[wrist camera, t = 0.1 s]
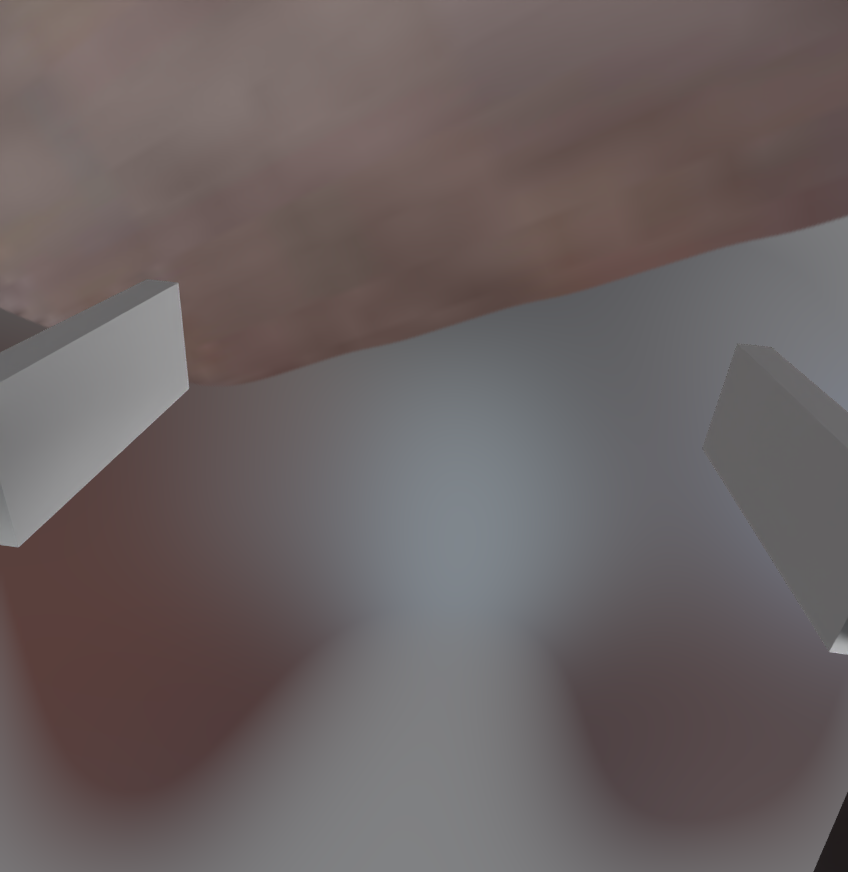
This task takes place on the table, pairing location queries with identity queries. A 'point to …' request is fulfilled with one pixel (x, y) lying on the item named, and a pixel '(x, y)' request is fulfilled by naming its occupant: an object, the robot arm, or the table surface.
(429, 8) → the table surface
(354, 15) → the table surface
